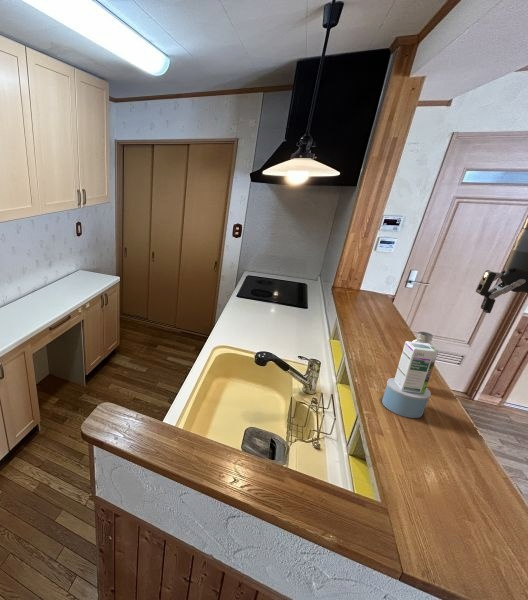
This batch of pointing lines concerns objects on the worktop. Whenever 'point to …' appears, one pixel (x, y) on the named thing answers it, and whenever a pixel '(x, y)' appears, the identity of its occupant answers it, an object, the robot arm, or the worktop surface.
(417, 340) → the silver metal bottle
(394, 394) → the yogurt tub
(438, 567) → the worktop surface
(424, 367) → the syrup box
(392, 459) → the worktop surface
